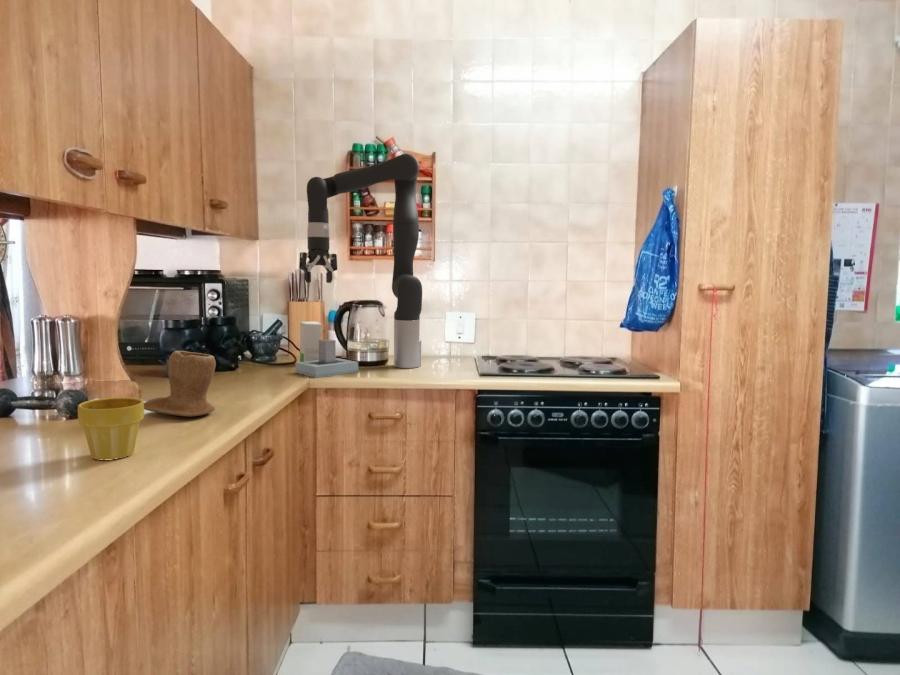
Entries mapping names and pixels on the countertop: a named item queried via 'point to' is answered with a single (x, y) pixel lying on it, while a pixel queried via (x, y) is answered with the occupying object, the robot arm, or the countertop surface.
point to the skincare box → (309, 340)
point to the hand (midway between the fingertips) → (318, 282)
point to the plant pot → (111, 425)
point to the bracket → (327, 351)
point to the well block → (326, 368)
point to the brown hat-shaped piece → (186, 385)
